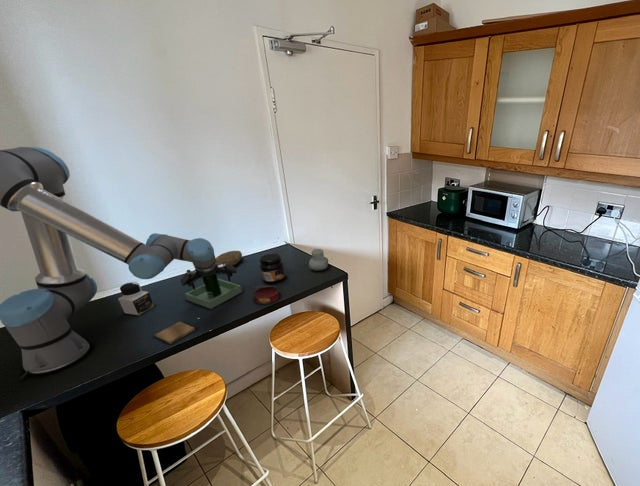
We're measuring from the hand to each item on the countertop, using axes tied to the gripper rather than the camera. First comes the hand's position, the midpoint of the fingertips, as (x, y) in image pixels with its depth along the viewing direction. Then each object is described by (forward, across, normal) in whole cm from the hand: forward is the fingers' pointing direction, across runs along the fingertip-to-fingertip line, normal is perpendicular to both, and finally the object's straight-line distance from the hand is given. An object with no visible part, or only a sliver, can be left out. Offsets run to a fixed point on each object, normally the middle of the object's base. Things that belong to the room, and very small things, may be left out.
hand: (211, 282), depth 137 cm
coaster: (-12, -15, -21) cm, 28 cm away
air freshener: (+4, +48, -5) cm, 49 cm away
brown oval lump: (+25, +8, +16) cm, 31 cm away
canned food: (-7, +19, -16) cm, 25 cm away
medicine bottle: (+7, -27, -2) cm, 28 cm away
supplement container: (+4, +26, -5) cm, 26 cm away
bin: (+3, 0, -5) cm, 6 cm away
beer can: (+3, 0, -5) cm, 6 cm away
